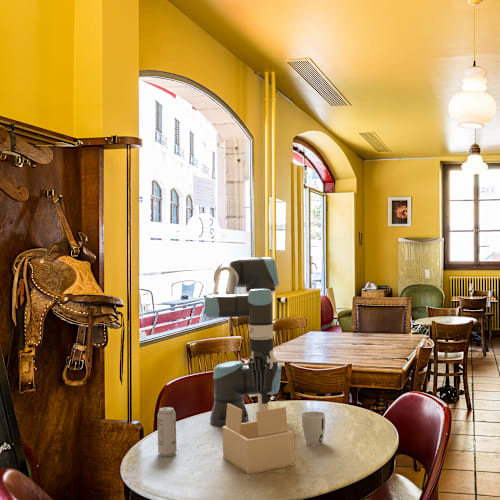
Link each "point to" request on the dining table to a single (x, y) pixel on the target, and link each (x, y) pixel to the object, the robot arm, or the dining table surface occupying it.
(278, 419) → the front flap
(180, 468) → the dining table surface
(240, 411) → the side flap
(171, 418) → the energy drink can
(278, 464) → the carton
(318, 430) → the cup
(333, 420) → the dining table surface
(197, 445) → the dining table surface
